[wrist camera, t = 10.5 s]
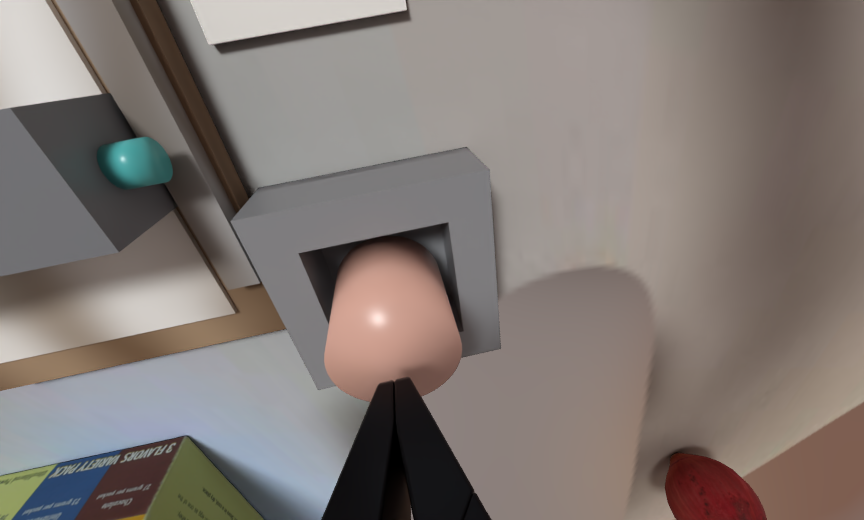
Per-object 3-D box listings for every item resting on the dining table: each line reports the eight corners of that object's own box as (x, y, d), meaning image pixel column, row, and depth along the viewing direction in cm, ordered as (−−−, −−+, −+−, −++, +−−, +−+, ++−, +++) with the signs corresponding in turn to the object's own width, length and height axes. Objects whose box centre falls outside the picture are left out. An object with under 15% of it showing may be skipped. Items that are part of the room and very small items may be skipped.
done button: (431, 225, 12) (453, 290, 9) (445, 309, 15) (468, 386, 11) (322, 248, 12) (303, 322, 9) (353, 329, 14) (347, 414, 11)
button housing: (466, 146, 13) (489, 169, 11) (482, 305, 17) (501, 348, 15) (258, 188, 13) (230, 221, 10) (326, 339, 17) (318, 390, 14)
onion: (653, 440, 27) (745, 567, 21) (718, 427, 28) (829, 547, 21) (635, 477, 31) (710, 598, 24) (694, 465, 31) (784, 580, 24)
